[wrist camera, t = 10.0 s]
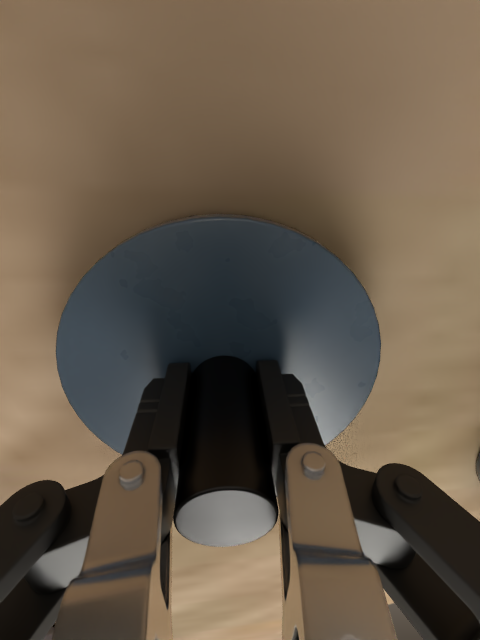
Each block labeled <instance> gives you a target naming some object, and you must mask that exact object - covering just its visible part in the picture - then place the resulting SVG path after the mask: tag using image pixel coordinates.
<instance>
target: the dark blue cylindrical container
mask: <svg viewBox="0 0 480 640" xmlns="http://www.w3.org/2000/svg"><path fill="white" fill-rule="evenodd" d="M476 471H477V476H478V478H479V481H480V453H479V455H478V459H477V464H476Z"/></svg>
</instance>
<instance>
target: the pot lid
mask: <svg viewBox="0 0 480 640" xmlns="http://www.w3.org/2000/svg"><path fill="white" fill-rule="evenodd" d="M380 349H381V340H380V332H379V324H378V320H377V317H376V314H375V310H374V307H373V305H372V303H371V301H370V299H369V297H368V295H367V293H366V290H365V289H364V287H363V286H362V285H361V283H360V282H359V280H358V279H357V278H356V276H355V275H354V273H353V272H352V271H351V270H350V269H349V268H348V267H347V266H346V265H345V264H344V263H343V262H342V261H341V260H340V259H339V258H338V257H337V256H336V255H335V254H333V253H332V252H331V251H329V250H328V249H327V248H325V247H324V246H323V245H321V244H320V243H318V242H317V241H316V240H314V239H312V238H310V237H309V236H307V235H305V234H303V233H301V232H299V231H297V230H295V229H293V228H290V227H288V226H285V225H282V224H279V223H276V222H273V221H271V220H266V219H261V218H256V217H251V216H246V215H232V214H209V215H195V216H189V217H185V218H180V219H175V220H171V221H167V222H164V223H161V224H159V225H156V226H153V227H151V228H148V229H145V230H143V231H141V232H139V233H137V234H136V235H134V236H132V237H130V238H128V239H126V240H125V241H123V242H121V243H120V244H119V245H117V246H116V247H115V248H113V249H112V250H111V251H109V252H108V253H107V254H106V255H104V256H103V257H102V258H101V259H99V260H98V261H97V262H96V263H95V265H94V266H93V267H92V268H91V269H90V270H89V271H88V272H87V273H86V274H85V275H84V276H83V277H82V279H81V280H80V282H79V283H78V284H77V286H76V287H75V289H74V290H73V292H72V293H71V295H70V297H69V299H68V301H67V304H66V306H65V308H64V310H63V312H62V315H61V319H60V323H59V327H58V331H57V342H56V359H57V369H58V373H59V377H60V380H61V384H62V387H63V390H64V392H65V394H66V396H67V398H68V401H69V403H70V404H71V406H72V407H73V409H74V410H75V412H76V414H77V415H78V417H79V418H80V419H81V420H82V421H83V423H84V424H85V425H86V426H87V427H88V428H89V430H90V431H92V432H93V433H94V434H95V435H96V436H97V437H98V438H99V439H100V440H101V441H103V442H104V443H105V444H107V445H108V446H109V447H111V448H112V449H114V450H115V451H117V452H118V453H120V454H123V452H124V449H125V446H126V443H127V440H128V437H129V434H130V430H131V427H132V424H133V421H134V418H135V415H136V413H137V409H138V406H139V403H140V400H141V397H142V394H143V390H144V388H145V387H146V386H147V385H148V384H149V383H150V382H151V381H152V379H153V378H165V375H166V371H167V367H168V364H169V363H190V366H191V376H192V377H191V384H190V392H189V400H188V408H187V415H186V423H185V431H184V439H183V447H182V454H181V462H180V470H179V476H178V484H177V492H176V499H175V507H174V515H173V520H174V524H175V527H176V529H177V531H178V532H179V533H180V534H181V535H182V536H183V537H185V538H187V539H188V540H190V541H192V542H195V543H198V544H202V545H207V546H214V547H228V546H236V545H241V544H246V543H249V542H252V541H254V540H257V539H259V538H261V537H262V536H264V535H265V534H267V533H268V532H269V531H270V530H271V529H272V528H273V527H274V525H275V524H276V522H277V518H278V505H277V499H276V493H275V487H274V481H273V475H272V469H271V463H270V457H269V451H268V445H267V439H266V433H265V427H264V421H263V415H262V409H261V403H260V397H259V391H258V385H257V379H256V363H257V361H262V360H277V361H278V364H279V367H280V371H281V374H293V375H294V376H295V377H296V378H297V379H298V380H299V381H300V382H301V383H302V385H303V388H304V390H305V393H306V397H307V399H308V402H309V406H310V407H311V410H312V413H313V415H314V418H315V421H316V424H317V426H318V429H319V432H320V435H321V437H322V440H323V443H324V445H326V444H328V443H329V442H331V441H332V440H333V439H334V438H335V437H337V436H338V435H339V434H340V433H341V432H342V431H343V430H344V429H345V428H346V427H347V426H348V425H349V424H350V423H351V422H352V420H353V419H354V418H355V417H356V415H357V414H358V413H359V411H360V410H361V408H362V407H363V405H364V404H365V402H366V400H367V398H368V396H369V394H370V392H371V390H372V387H373V385H374V382H375V379H376V376H377V372H378V367H379V362H380Z"/></svg>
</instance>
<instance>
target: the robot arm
mask: <svg viewBox="0 0 480 640" xmlns="http://www.w3.org/2000/svg"><path fill="white" fill-rule="evenodd" d="M191 377H192V376H191V366H190V363H169V364H168V367H167V371H166V375H165V378H153V379H152V381H151V382H150V383H149V384H148V385H147V386H146V387H145V388H144V390H143V394H142V397H141V400H140V403H139V406H138V409H137V413H136V415H135V418H134V421H133V424H132V427H131V430H130V434H129V437H128V440H127V443H126V446H125V449H124V452H123V454H122V456H121V457H119V458H118V459H116V460H115V461H114V462H113V463H112V464H111V465H110V466H109V467H108V469H107V470H106V472H105V474H104V475H103V476H101V477H100V478H98V479H96V480H93V481H91V482H88V483H85V484H82V485H79V486H76V487H73V488H70V489H67V490H64V488H63V487H62V485H61V484H59V483H58V482H56V481H51V480H43V481H38V482H35V483H32V484H30V485H27V486H26V487H24V488H22V489H20V490H19V491H17V492H16V493H15V494H13V495H12V496H11V497H10V498H9V499H8V500H7V501H5V502H4V503H3V504H2V505H1V506H0V640H43V639H44V637H45V636H46V634H47V633H48V632H49V630H50V629H51V627H52V626H53V625H54V623H55V622H56V625H55V628H54V632H53V636H52V640H173V632H172V618H171V591H172V521H173V513H174V505H175V499H176V492H177V484H178V476H179V470H180V462H181V454H182V447H183V439H184V431H185V423H186V415H187V408H188V400H189V392H190V384H191ZM256 379H257V385H258V391H259V397H260V403H261V409H262V415H263V421H264V427H265V433H266V439H267V445H268V451H269V457H270V463H271V469H272V475H273V481H274V487H275V493H276V497H277V498H278V504H279V510H280V515H279V537H280V559H281V580H282V603H283V617H282V640H398V639H397V636H396V632H395V629H394V625H393V622H392V618H391V615H390V611H389V607H388V604H387V600H386V597H385V593H384V590H385V591H386V592H387V594H388V595H389V596H390V597H391V599H392V600H393V601H394V603H395V604H396V605H397V606H398V608H399V609H400V610H401V611H402V613H403V614H404V615H405V616H406V618H407V619H408V620H409V622H410V623H411V624H412V625H413V627H414V628H415V629H416V630H417V632H418V633H419V634H420V635H421V637H422V638H423V639H424V640H480V522H479V521H478V520H477V519H476V518H474V517H473V516H472V515H471V514H470V513H469V512H467V511H466V510H465V509H464V508H463V507H461V506H460V505H459V504H458V503H457V502H455V501H454V500H453V499H452V498H451V497H449V496H448V495H447V494H446V493H445V492H443V491H442V490H441V489H440V488H439V487H437V486H436V485H435V484H434V483H433V482H431V481H430V480H429V479H428V478H427V477H425V476H424V475H423V474H422V473H420V472H419V471H417V470H415V469H413V468H411V467H409V466H406V465H403V464H397V463H391V464H387V465H384V466H382V467H381V468H380V469H379V471H378V472H377V473H373V472H369V471H365V470H361V469H357V468H354V467H350V466H348V465H346V464H343V463H342V462H340V461H338V460H337V458H336V457H335V455H334V454H333V453H332V452H331V451H329V450H328V449H327V448H326V447H325V445H324V443H323V440H322V437H321V435H320V432H319V429H318V426H317V424H316V421H315V418H314V415H313V413H312V410H311V407H310V406H309V402H308V399H307V397H306V393H305V390H304V388H303V385H302V383H301V382H300V381H299V380H298V379H297V378H296V377H295V376H294V375H293V374H281V371H280V367H279V364H278V361H277V360H262V361H257V363H256ZM383 589H384V590H383ZM56 620H57V621H56Z"/></svg>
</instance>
